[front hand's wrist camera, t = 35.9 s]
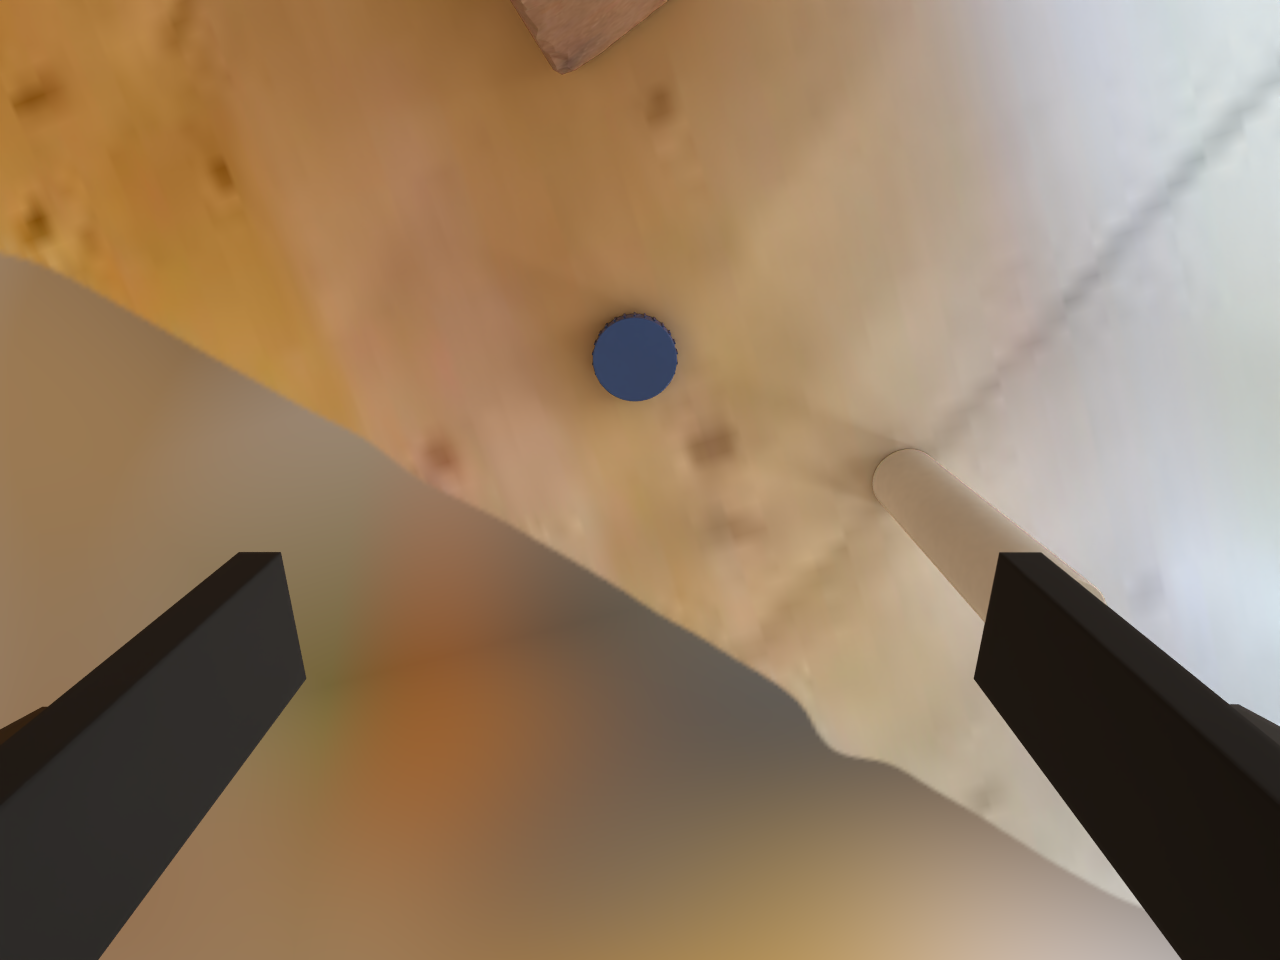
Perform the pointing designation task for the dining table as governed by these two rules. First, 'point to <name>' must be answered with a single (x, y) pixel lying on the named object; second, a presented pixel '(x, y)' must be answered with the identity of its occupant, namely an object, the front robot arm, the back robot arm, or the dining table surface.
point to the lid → (634, 357)
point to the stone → (580, 26)
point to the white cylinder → (954, 525)
